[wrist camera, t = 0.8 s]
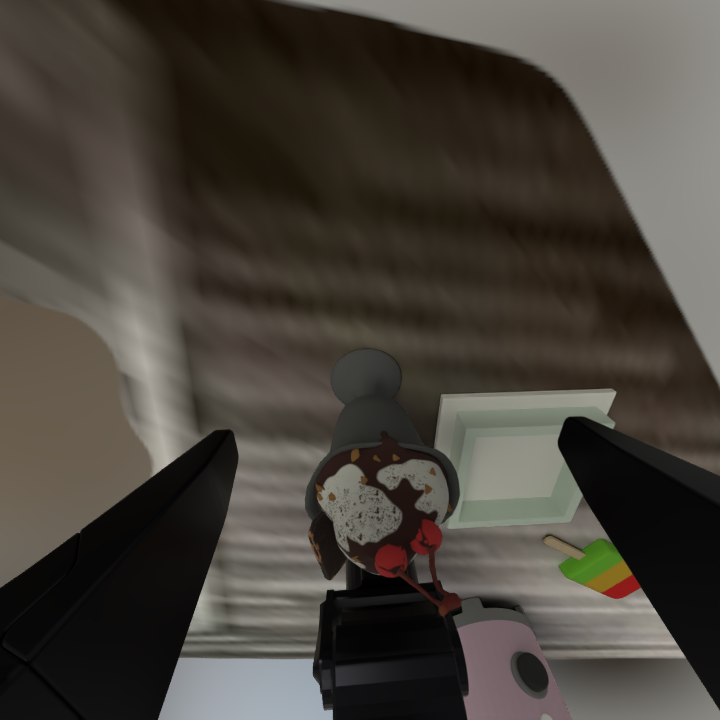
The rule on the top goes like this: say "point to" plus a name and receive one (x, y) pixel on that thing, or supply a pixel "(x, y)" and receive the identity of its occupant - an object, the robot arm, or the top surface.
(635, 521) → the robot arm
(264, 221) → the top surface
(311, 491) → the sundae
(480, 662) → the blender
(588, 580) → the popsicle
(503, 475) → the holder cell
